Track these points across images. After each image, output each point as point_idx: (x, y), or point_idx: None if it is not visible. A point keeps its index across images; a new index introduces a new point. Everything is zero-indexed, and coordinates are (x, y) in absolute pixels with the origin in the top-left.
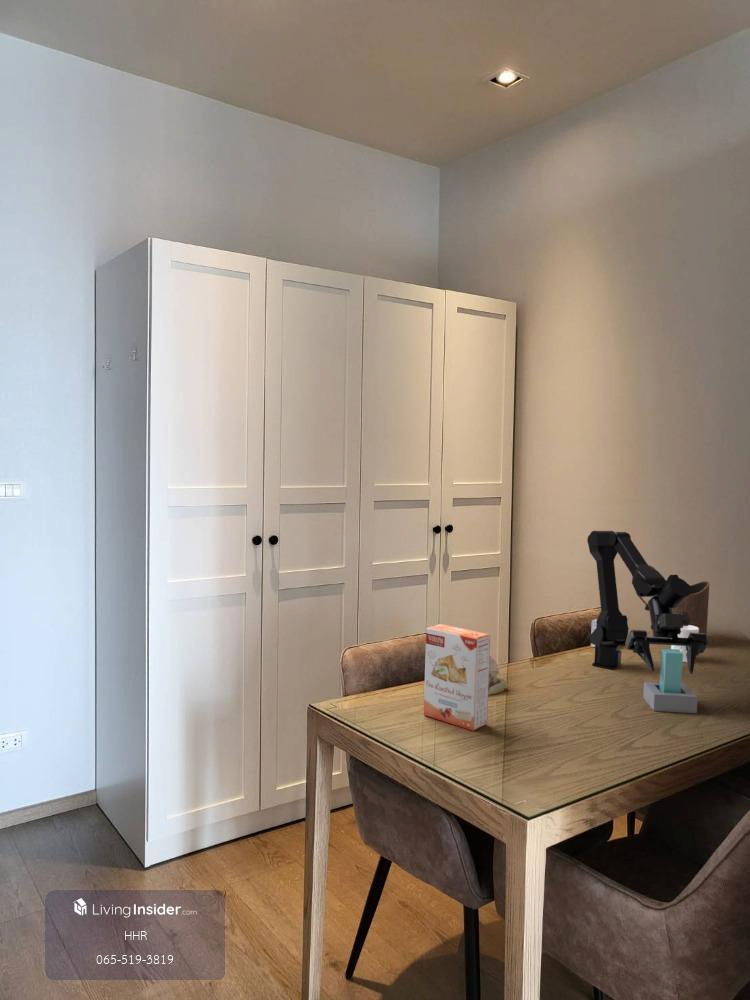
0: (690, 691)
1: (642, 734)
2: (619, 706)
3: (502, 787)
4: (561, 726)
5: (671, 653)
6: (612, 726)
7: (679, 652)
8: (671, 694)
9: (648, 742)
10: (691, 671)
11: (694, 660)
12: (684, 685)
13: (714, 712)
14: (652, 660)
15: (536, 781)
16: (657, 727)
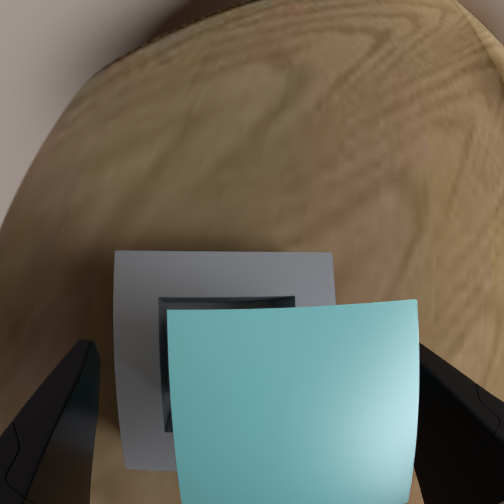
0: (123, 344)
1: (355, 76)
2: (407, 293)
3: (460, 9)
4: (485, 133)
5: (350, 304)
6: (417, 124)
7: (206, 391)
8: (246, 267)
9: (343, 43)
10: (92, 341)
11: (26, 406)
12: (131, 449)
13: (56, 291)
14: (430, 369)
15: (444, 6)
16: (315, 112)
